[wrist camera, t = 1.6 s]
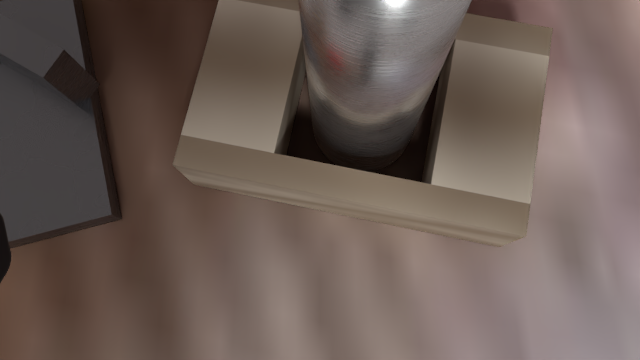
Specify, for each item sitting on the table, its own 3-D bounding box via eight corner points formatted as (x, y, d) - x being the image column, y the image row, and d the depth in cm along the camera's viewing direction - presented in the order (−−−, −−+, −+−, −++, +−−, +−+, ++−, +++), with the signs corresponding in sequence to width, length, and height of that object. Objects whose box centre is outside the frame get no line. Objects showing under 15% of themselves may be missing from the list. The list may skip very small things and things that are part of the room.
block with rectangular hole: (499, 246, 21) (526, 236, 18) (194, 184, 22) (172, 165, 19) (524, 64, 23) (552, 28, 20) (240, 13, 24) (227, -30, 21)
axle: (350, 191, 22) (368, 50, 10) (293, 111, 23) (250, -105, 11) (432, 135, 22) (542, -62, 10) (374, 59, 23) (415, -203, 11)
